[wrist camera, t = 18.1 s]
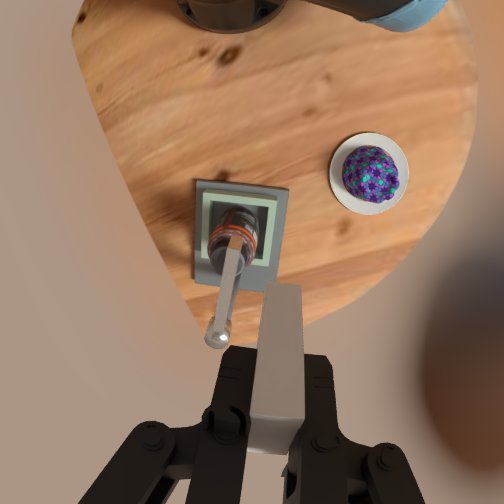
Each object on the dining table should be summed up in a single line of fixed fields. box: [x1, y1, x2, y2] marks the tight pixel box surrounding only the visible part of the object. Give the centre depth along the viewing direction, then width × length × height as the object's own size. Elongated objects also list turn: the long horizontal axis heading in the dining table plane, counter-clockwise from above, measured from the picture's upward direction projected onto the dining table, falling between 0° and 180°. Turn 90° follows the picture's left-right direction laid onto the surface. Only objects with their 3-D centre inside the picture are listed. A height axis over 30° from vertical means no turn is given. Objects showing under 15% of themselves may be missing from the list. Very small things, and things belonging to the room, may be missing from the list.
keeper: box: [204, 235, 243, 349], centre depth 33 cm, size 13×3×3 cm, turn 169°
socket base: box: [195, 179, 289, 320], centre depth 40 cm, size 17×13×13 cm
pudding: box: [330, 133, 409, 215], centre depth 38 cm, size 12×12×5 cm
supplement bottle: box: [207, 207, 259, 276], centre depth 39 cm, size 6×6×11 cm
